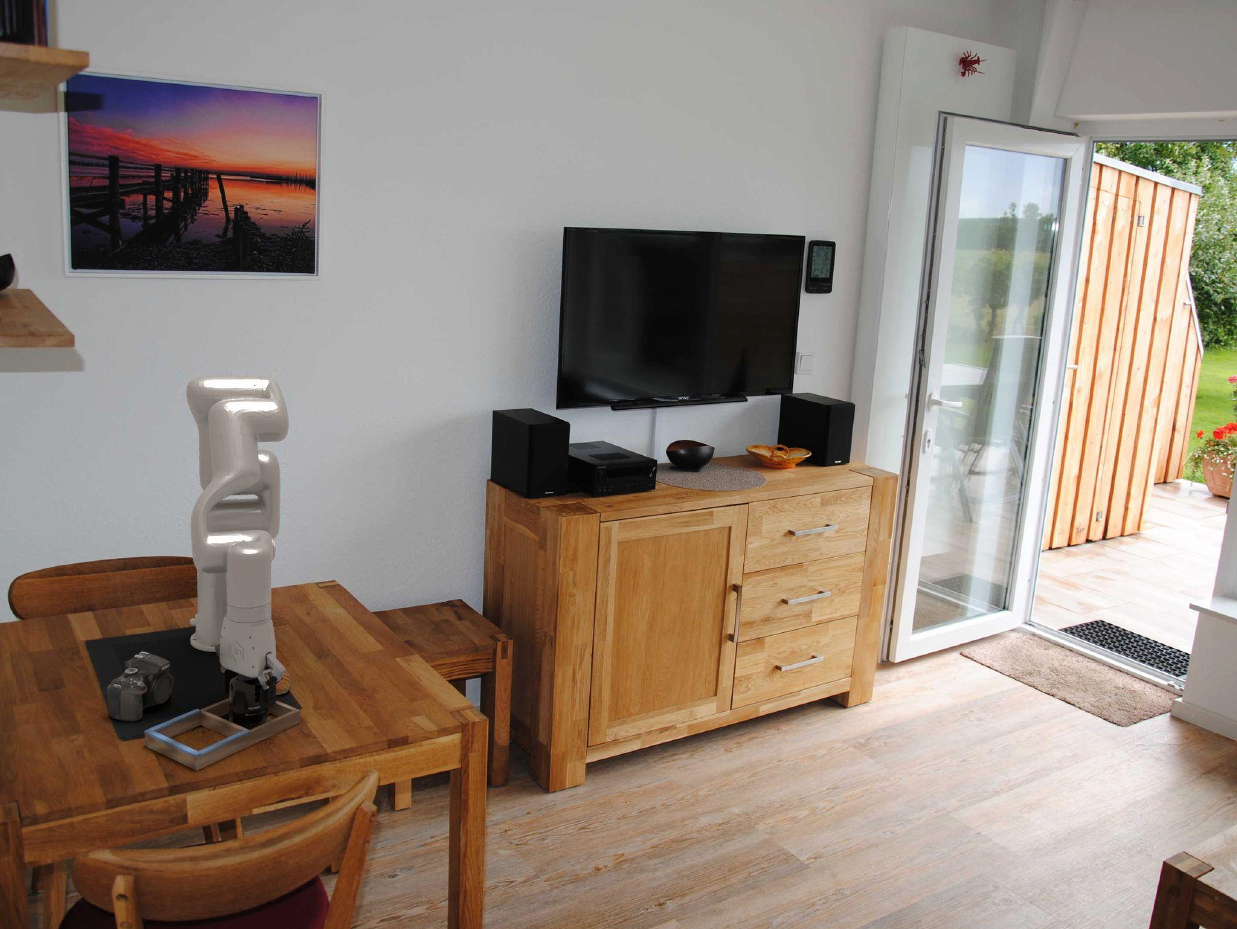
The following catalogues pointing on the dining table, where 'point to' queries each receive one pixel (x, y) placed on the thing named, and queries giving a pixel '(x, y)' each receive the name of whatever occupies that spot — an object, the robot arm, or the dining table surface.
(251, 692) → the supplement bottle
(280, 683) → the pastry
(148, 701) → the camera
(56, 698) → the dining table surface
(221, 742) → the caddy
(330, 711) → the dining table surface
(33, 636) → the dining table surface
